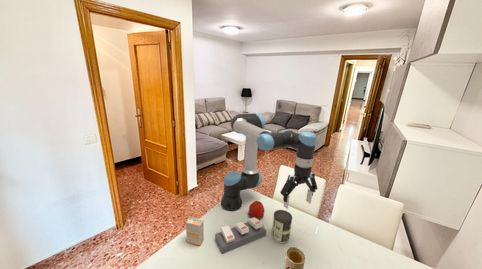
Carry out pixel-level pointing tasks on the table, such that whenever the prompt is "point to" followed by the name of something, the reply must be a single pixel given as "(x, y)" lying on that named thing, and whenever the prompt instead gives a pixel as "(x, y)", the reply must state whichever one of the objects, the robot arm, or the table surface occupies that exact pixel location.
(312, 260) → the table surface
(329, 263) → the table surface
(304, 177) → the robot arm
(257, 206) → the apple
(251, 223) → the block
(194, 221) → the supplement box
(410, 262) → the table surface
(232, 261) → the table surface
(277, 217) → the coffee can
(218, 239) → the rocker switch panel
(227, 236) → the rocker
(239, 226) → the rocker
